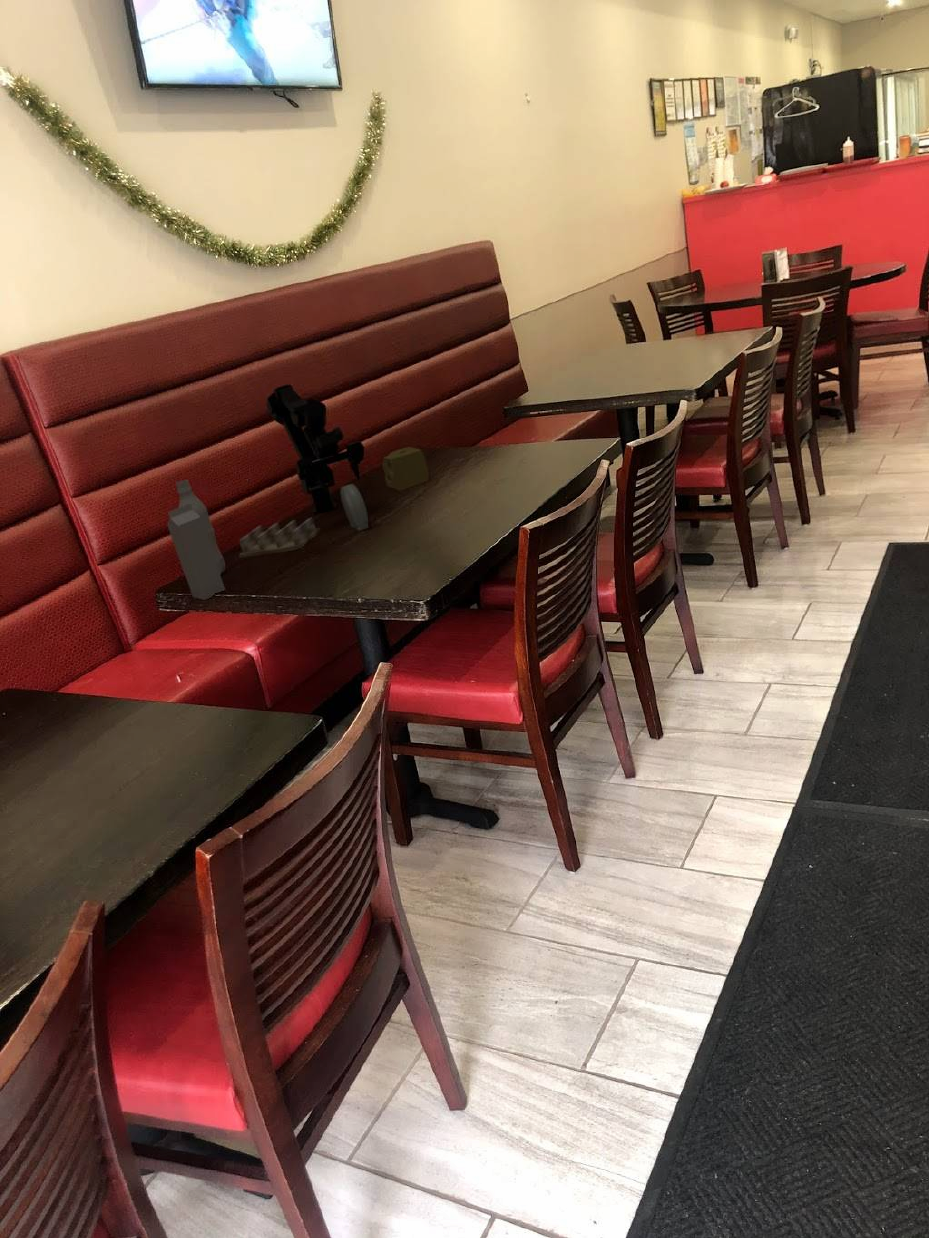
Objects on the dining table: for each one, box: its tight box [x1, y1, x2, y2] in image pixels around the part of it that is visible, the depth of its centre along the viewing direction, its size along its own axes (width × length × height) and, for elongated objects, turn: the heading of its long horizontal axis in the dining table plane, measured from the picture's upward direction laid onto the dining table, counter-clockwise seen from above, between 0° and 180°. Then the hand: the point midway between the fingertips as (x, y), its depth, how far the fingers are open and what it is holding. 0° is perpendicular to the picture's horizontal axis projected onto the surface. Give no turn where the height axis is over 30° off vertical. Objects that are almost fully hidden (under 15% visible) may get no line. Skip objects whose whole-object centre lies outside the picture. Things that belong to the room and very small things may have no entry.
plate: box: [340, 483, 369, 532], centre depth 262 cm, size 12×3×12 cm, turn 25°
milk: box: [166, 504, 226, 601], centre depth 235 cm, size 6×6×22 cm
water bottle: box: [175, 479, 226, 576], centre depth 249 cm, size 7×7×25 cm
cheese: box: [382, 446, 430, 492], centre depth 296 cm, size 10×11×10 cm
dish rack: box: [238, 517, 322, 559], centre depth 265 cm, size 14×18×4 cm
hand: (343, 484), depth 264 cm, fingers open, 9 cm apart
